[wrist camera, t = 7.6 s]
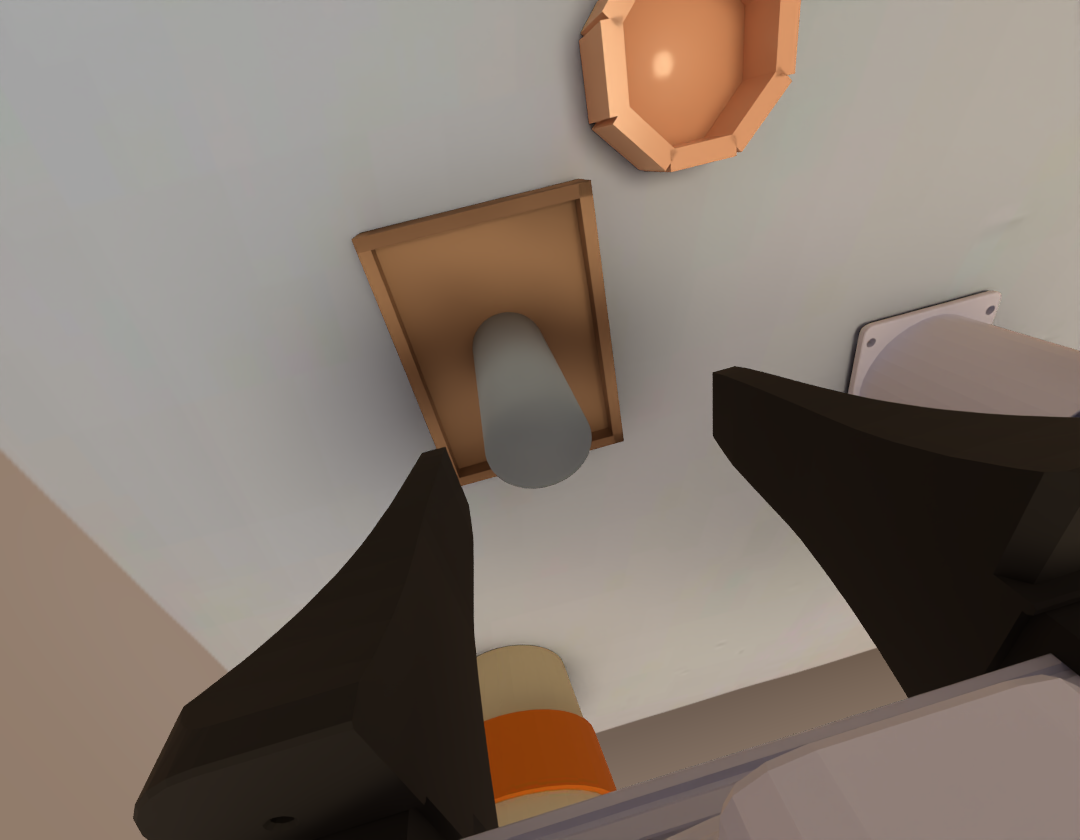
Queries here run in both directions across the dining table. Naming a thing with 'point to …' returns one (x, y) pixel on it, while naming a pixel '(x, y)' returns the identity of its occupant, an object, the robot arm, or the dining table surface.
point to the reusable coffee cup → (536, 735)
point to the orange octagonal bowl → (685, 75)
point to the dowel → (526, 405)
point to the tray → (495, 305)
